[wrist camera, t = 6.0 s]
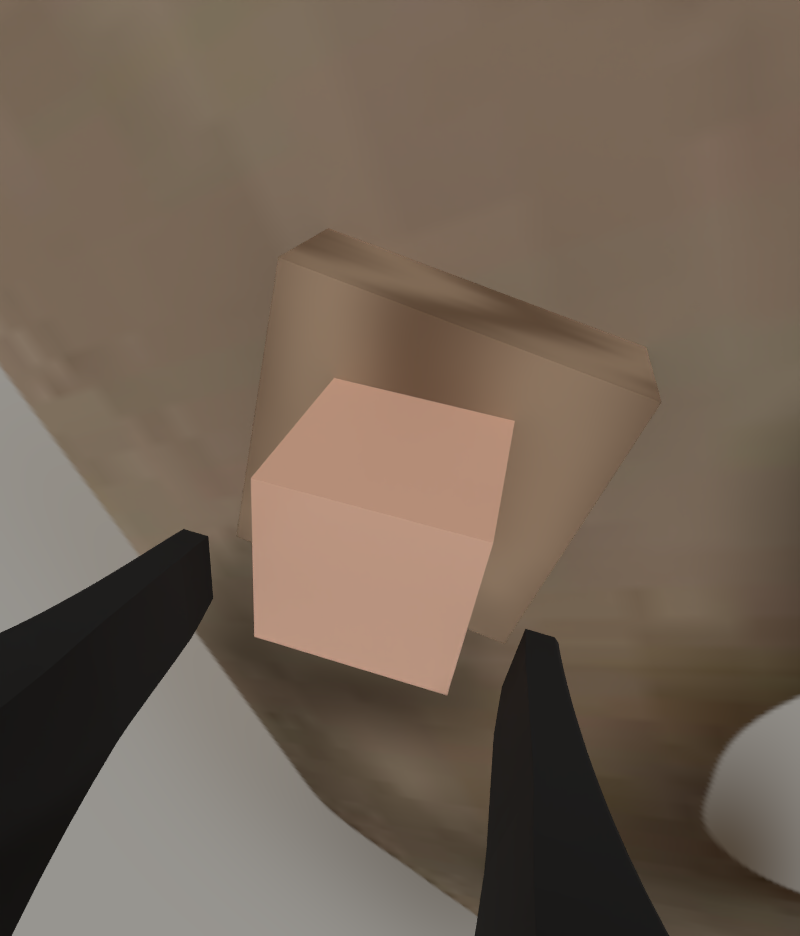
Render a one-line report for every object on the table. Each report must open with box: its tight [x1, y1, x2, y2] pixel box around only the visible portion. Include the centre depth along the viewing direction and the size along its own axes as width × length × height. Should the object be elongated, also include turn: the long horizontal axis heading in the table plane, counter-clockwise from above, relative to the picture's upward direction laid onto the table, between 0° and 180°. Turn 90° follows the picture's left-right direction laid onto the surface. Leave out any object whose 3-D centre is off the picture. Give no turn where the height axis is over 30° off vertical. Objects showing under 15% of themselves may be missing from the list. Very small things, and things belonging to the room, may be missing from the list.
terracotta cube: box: [251, 378, 515, 695], centre depth 15 cm, size 5×5×5 cm
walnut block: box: [236, 228, 661, 644], centre depth 19 cm, size 10×10×4 cm
